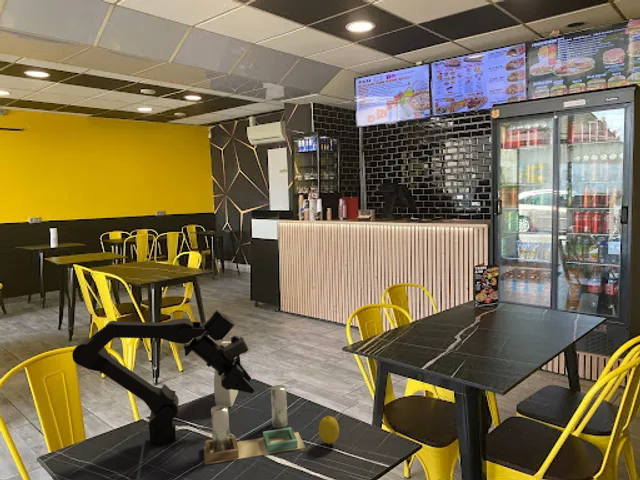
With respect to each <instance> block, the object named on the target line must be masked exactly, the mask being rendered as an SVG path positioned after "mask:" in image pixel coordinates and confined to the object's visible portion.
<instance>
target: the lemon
mask: <svg viewBox="0 0 640 480" xmlns="http://www.w3.org/2000/svg"><path fill="white" fill-rule="evenodd" d="M339 434H340V427H339V424H338V421H337V419H336V418H334V417H333V416H330V415H327V416H325V417H322V419H321V420H320V422H319V425H318V435H319V438H320V440H321V441H323V442H324V443H325V444H327V445H331V444H333V443H335V442H337V440H338V439H339Z"/></svg>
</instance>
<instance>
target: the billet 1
mask: <svg viewBox="0 0 640 480" xmlns="http://www.w3.org/2000/svg"><path fill="white" fill-rule="evenodd" d="M210 416H211V417H210V419H211V435H212V436H211V437H212V439H213V452H219V451H225V450H230V437H231V436H230V418H229V407H228V406H226V405H218V406H216V405H215V406H213V407H211V409H210Z"/></svg>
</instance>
